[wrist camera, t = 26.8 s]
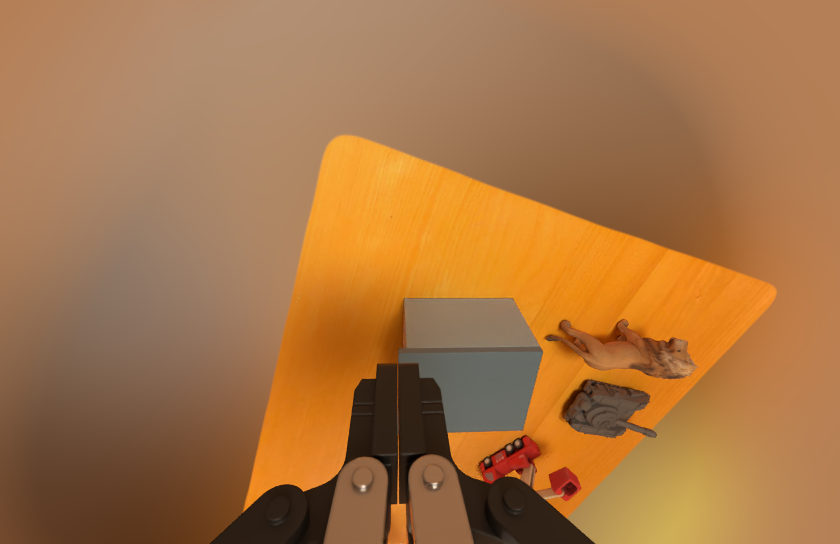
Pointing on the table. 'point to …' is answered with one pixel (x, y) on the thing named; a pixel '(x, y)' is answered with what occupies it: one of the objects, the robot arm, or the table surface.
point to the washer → (464, 323)
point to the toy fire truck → (528, 469)
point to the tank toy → (606, 410)
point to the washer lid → (480, 384)
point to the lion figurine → (632, 353)
